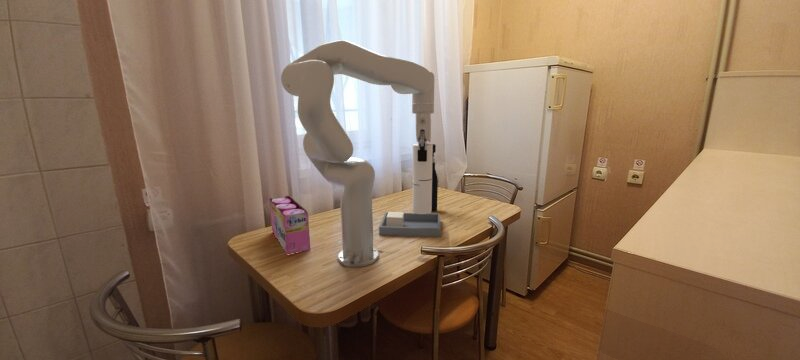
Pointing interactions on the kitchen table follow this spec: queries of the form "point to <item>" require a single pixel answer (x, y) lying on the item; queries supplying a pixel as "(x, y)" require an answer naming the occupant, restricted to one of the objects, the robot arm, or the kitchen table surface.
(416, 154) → the cylindrical container
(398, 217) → the cream box
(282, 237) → the gum box
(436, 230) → the tray
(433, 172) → the wine bottle
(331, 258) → the kitchen table surface
